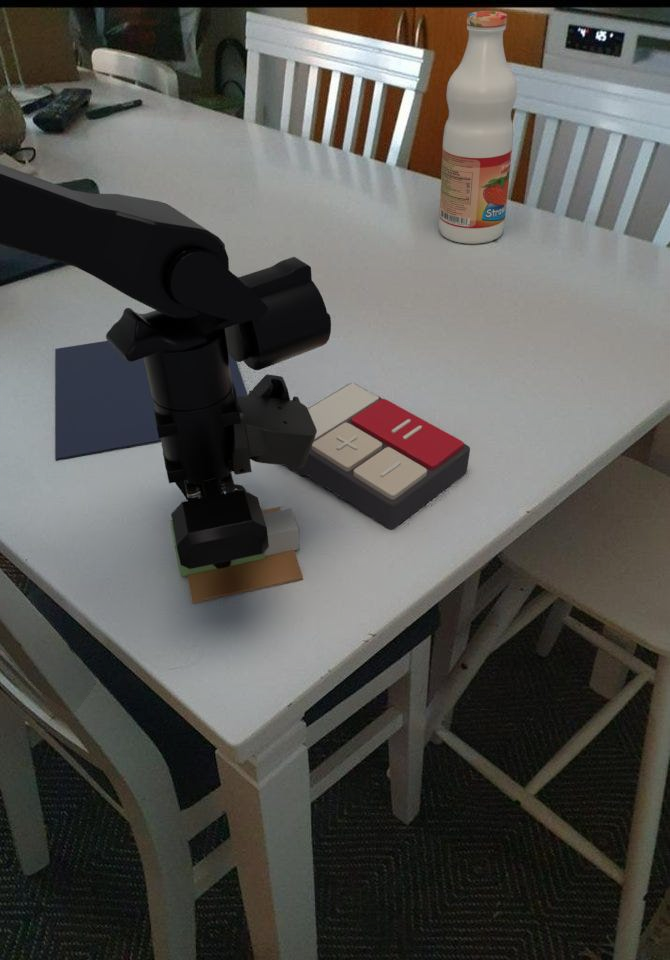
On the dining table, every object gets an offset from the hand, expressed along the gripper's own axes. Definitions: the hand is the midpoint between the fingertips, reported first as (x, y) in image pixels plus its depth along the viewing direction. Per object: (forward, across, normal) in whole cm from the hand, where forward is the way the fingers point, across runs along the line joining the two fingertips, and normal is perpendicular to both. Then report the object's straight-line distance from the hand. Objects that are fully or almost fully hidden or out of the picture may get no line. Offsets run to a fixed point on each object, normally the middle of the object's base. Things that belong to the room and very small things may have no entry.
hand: (219, 547), depth 67 cm
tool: (+1, 0, -2) cm, 2 cm away
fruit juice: (+1, +56, -46) cm, 72 cm away
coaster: (+1, 0, -2) cm, 2 cm away
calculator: (+1, +8, -16) cm, 17 cm away
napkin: (+1, +29, +4) cm, 29 cm away
